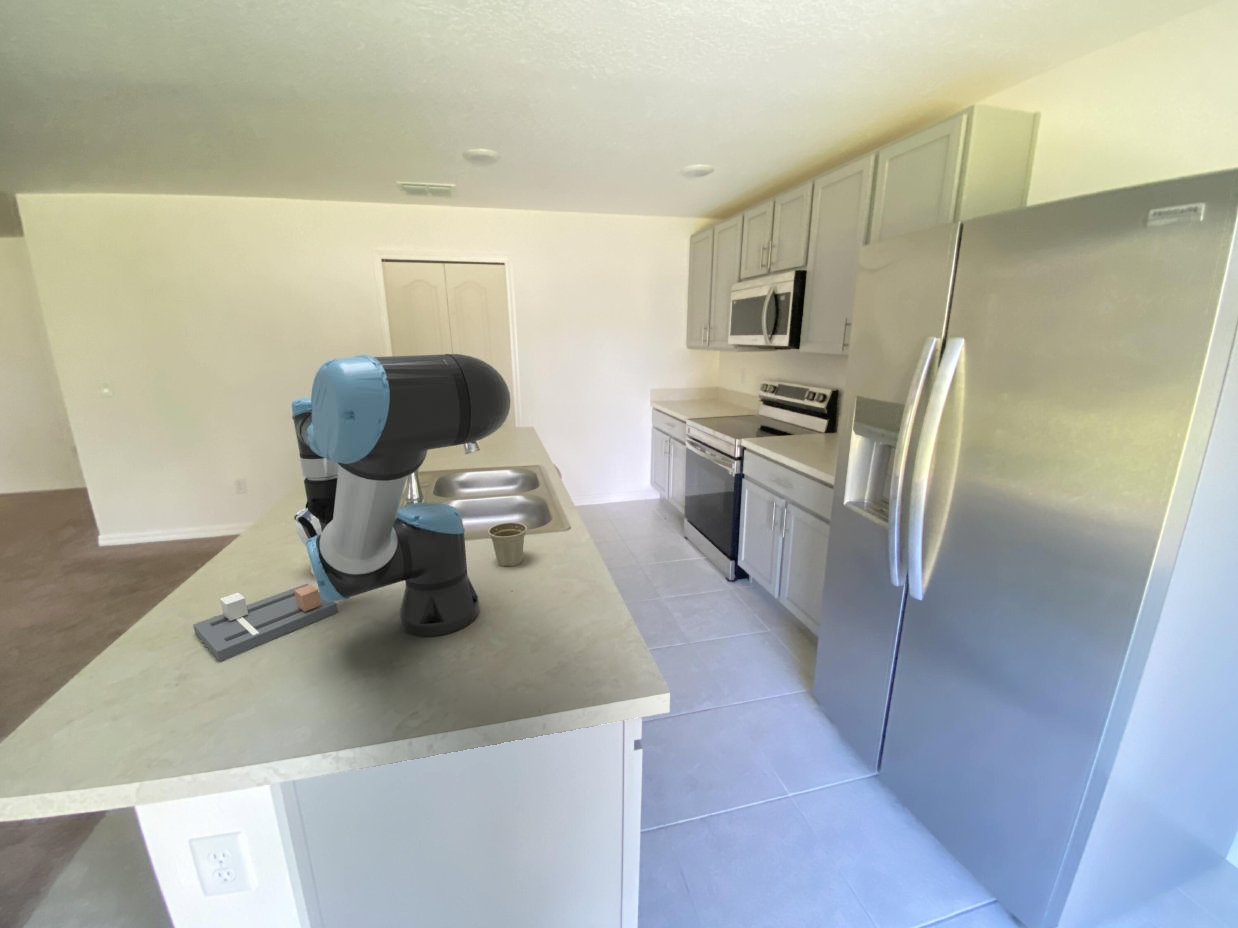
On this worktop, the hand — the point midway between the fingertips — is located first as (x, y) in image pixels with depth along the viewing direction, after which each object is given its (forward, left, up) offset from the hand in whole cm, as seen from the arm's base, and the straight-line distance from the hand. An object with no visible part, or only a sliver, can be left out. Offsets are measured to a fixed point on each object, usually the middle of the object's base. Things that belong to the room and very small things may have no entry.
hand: (342, 581), depth 106 cm
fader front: (0, +7, -2) cm, 7 cm away
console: (+4, +13, -5) cm, 14 cm away
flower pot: (-13, -34, -5) cm, 37 cm away
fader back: (+8, +17, -2) cm, 19 cm away
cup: (+19, -5, -5) cm, 20 cm away
